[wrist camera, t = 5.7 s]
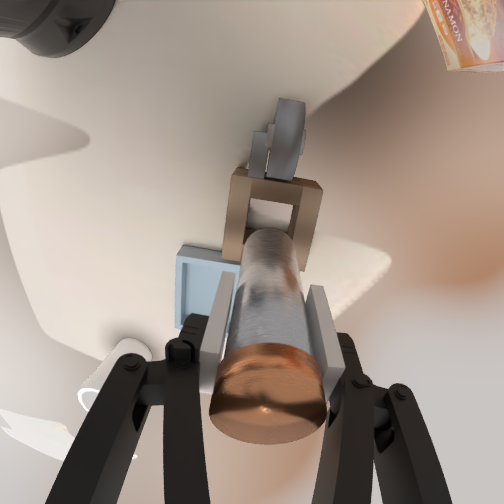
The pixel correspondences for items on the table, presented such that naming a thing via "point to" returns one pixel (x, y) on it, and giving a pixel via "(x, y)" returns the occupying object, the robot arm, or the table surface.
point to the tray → (200, 281)
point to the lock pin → (268, 351)
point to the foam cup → (109, 369)
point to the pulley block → (274, 184)
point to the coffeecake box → (469, 33)
